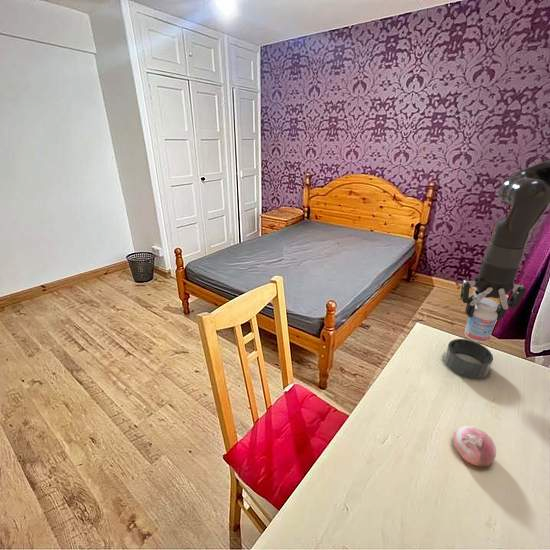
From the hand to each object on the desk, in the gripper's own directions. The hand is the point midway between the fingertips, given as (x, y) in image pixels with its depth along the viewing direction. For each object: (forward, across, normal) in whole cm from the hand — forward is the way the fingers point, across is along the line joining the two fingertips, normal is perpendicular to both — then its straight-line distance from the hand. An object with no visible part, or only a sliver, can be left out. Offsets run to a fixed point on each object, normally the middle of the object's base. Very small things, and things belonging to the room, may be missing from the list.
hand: (482, 316), depth 83 cm
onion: (+18, +6, +29) cm, 35 cm away
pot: (+18, 0, 0) cm, 18 cm away
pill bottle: (+7, 0, 0) cm, 7 cm away
